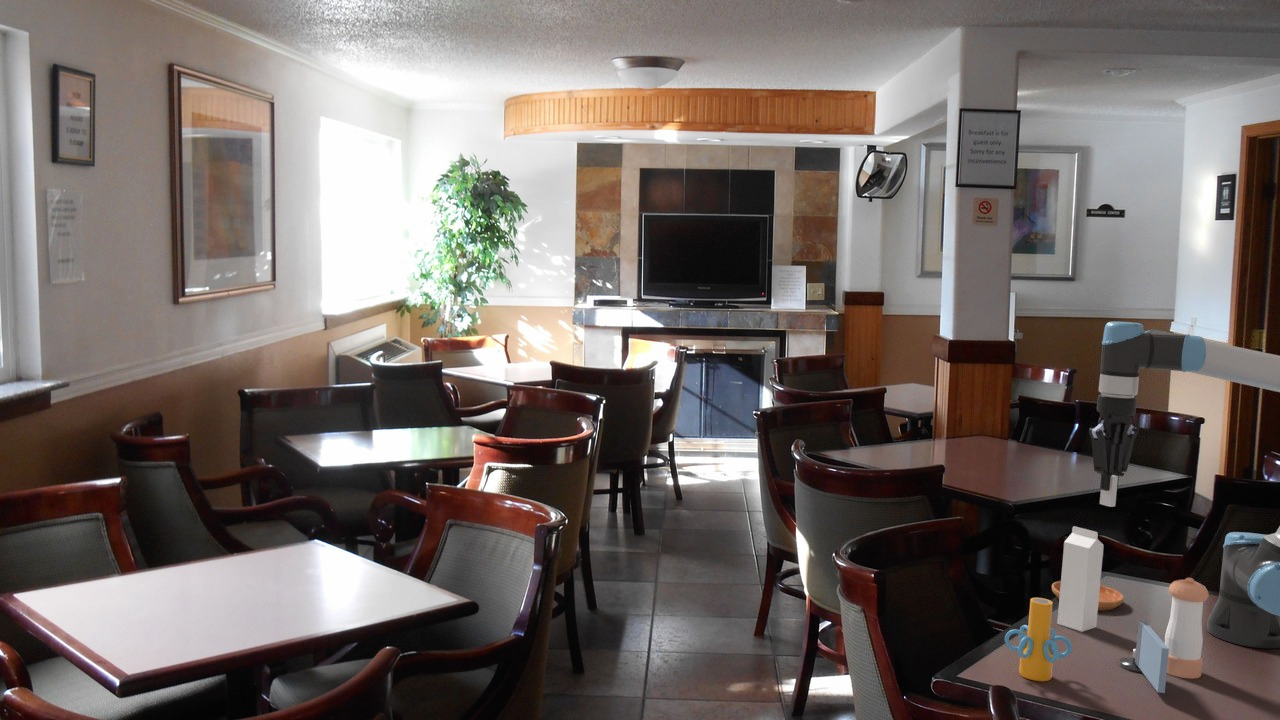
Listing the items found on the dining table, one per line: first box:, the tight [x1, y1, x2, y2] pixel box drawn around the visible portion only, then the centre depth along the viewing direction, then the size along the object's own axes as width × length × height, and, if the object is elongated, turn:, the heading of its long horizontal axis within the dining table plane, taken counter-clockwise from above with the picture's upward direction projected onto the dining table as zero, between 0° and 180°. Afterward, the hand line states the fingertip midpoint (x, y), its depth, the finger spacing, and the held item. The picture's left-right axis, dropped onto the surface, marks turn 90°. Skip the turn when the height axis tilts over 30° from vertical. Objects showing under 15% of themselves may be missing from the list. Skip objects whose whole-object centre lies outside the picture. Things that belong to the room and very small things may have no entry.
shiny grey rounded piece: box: [1118, 647, 1144, 674], centre depth 212 cm, size 6×6×4 cm
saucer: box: [1051, 580, 1125, 611], centre depth 253 cm, size 16×16×3 cm
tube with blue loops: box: [1004, 597, 1073, 682], centre depth 205 cm, size 12×10×15 cm
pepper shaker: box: [1164, 577, 1210, 680], centre depth 210 cm, size 7×7×19 cm
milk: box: [1057, 525, 1104, 633], centre depth 234 cm, size 6×6×22 cm
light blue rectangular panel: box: [1135, 620, 1169, 694], centre depth 203 cm, size 15×1×8 cm, turn 170°
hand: (1107, 505), depth 225 cm, fingers closed
